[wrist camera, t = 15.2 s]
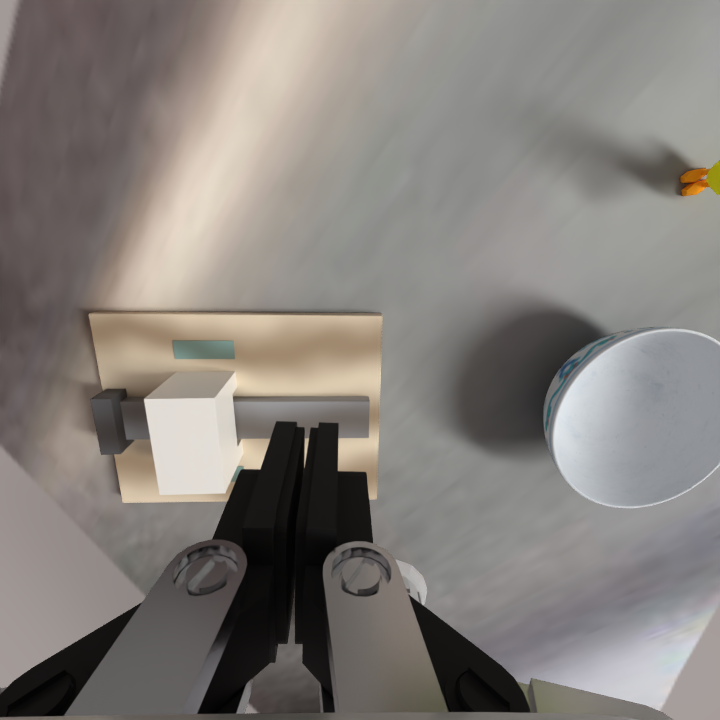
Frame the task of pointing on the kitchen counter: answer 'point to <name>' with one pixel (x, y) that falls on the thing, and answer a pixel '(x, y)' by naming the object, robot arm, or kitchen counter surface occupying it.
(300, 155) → the kitchen counter surface
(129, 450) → the din panel
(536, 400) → the kitchen counter surface
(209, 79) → the kitchen counter surface
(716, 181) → the toy figure
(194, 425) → the block
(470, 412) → the kitchen counter surface
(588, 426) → the chinaware
